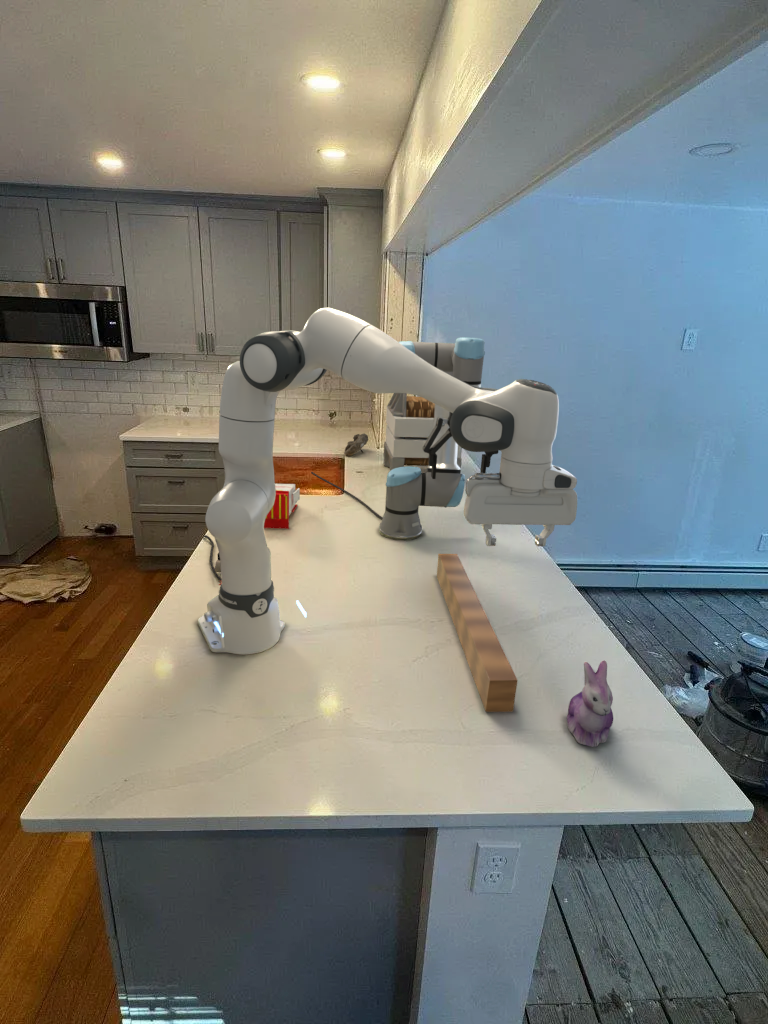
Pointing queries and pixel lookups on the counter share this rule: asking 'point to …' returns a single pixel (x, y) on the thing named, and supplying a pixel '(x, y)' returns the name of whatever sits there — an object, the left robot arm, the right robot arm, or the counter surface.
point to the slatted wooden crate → (409, 431)
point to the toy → (282, 506)
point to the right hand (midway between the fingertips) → (457, 478)
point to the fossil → (356, 444)
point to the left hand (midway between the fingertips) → (515, 545)
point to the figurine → (591, 708)
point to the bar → (477, 637)
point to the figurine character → (218, 565)
